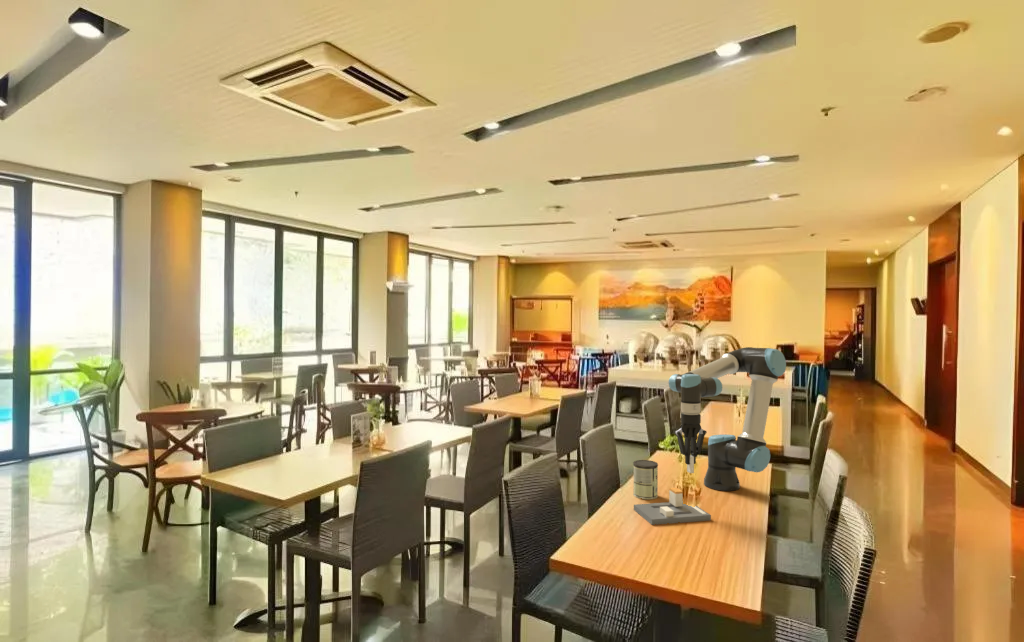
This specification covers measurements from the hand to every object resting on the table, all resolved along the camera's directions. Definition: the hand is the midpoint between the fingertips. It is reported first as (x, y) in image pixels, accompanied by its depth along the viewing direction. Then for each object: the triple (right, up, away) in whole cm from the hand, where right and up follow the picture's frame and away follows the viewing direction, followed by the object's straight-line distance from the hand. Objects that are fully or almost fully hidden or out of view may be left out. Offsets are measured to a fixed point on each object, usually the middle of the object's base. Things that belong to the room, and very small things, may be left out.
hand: (690, 472), depth 215 cm
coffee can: (-14, -15, +17) cm, 26 cm away
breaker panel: (-9, -15, -6) cm, 19 cm away
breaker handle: (-6, -12, -1) cm, 14 cm away
